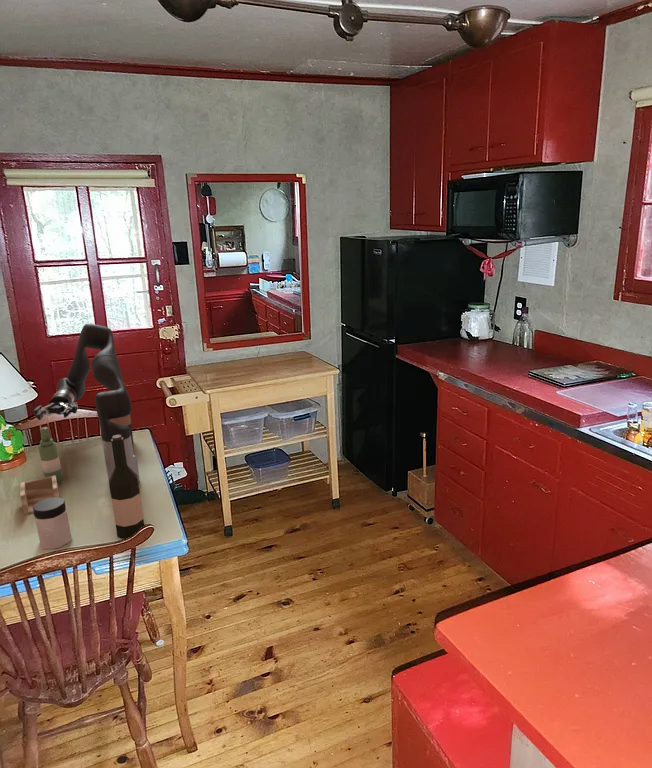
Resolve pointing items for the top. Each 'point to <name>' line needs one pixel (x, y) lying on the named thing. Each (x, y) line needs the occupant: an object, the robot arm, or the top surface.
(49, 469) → the green bottle
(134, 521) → the wine bottle
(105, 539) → the top surface
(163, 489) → the top surface
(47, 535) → the jar
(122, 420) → the travel mug
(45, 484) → the cradle
